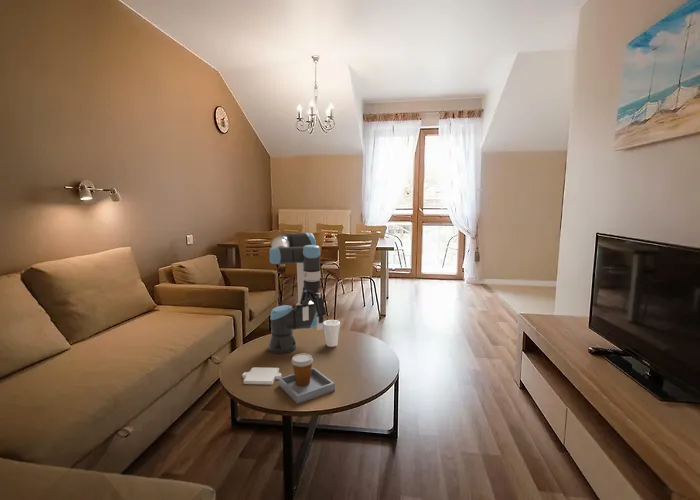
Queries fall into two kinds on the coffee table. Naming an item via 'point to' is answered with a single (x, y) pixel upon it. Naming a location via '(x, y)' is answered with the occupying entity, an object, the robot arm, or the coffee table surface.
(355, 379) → the coffee table surface
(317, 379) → the slate tray
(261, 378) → the mounting plate
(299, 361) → the disposable coffee cup
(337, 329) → the foam cup
